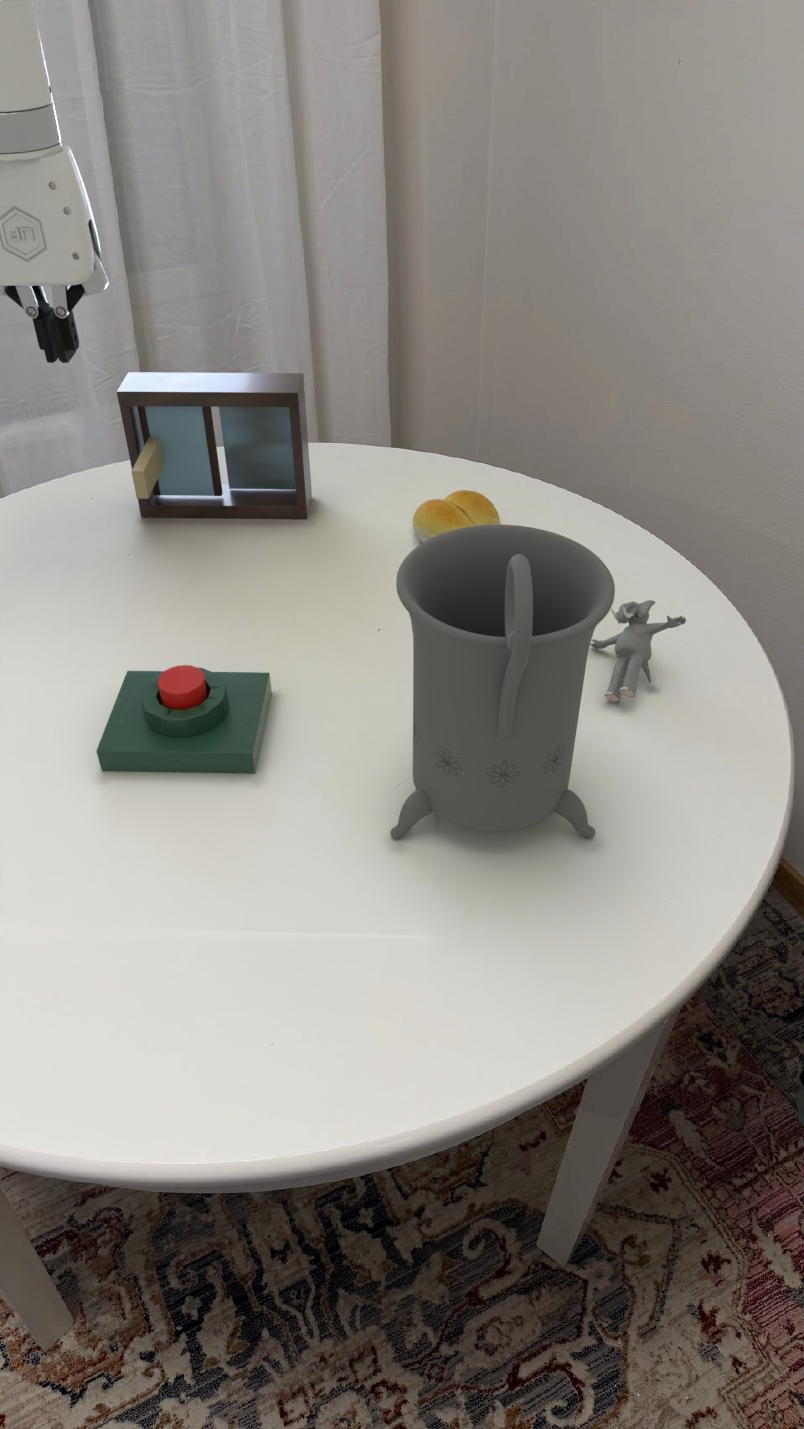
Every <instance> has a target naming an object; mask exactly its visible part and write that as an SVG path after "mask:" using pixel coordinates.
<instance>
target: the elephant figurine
mask: <svg viewBox="0 0 804 1429" xmlns="http://www.w3.org/2000/svg"><path fill="white" fill-rule="evenodd" d="M655 604H656V601H655V600H653V599H652V600H651V599H649V600H644V601H643V602H639V603H638V602H636V601H634V600H633V601H629V602H627V603H626V602H625V603H622V604H621V605H620V606H619V609H618V610H617V611H616V612H615V610H614V609H613V608H611V609H610V612H611V614H612V616H613V618H614V619H615V621H617V624H624V625H626V624H628V625H627V626H626V627H624V629H623V631H621V632H619V633H618V634H616V635H613V636H610V637H609V638H606V639H604V640H598V639H595V638H592V639H591V643H590V647H592V648H593V649H596V650H602V649H603V650H604V649H606V648H607V647H609V646H612V645H614V652H615V656H616V659H617V661H616V663H615V664H614V666H613V671H612V673H611V674H612V675H611V678H610V681H609V683H608V684H609V685H608V687H607V689H606V692H605V693H604V694H603V696H604V698H605V699H606V700H608V701H610V702H613V703H619V702H620V698H621V694H622V695H623V696H626V697H628V698H636V693H637V686H638V677H639V674H640V672H641V668H642V670H643V673H644V674H645V676H646V678H647V681H648V682H649V684H651V683H652V676H651V672H650V666H649V661H650V660H651V657H652V640H653V636H654V635H656V634H658V633H660V632H662V631H664V630H667V629H673V628H678V627H679V626H682V625H684V624H686V622H687V618H685V616H683V615H679V616H678V617H677V616H675V617H673V618H672V617H670V616H669V615H666V619H667V620H666V622H652V623H651V622H650V623H648V621H649V618H650V610H651V609H652V607H653V605H655Z"/></svg>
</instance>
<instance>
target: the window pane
mask: <svg viewBox="0 0 804 1429" xmlns="http://www.w3.org/2000/svg"><path fill="white" fill-rule="evenodd" d="M137 408H138V413H139V419H140V424H141V430H142V435H143V440H144V448H143V450H142V451H141V453H140V455H139V457H138V459H137V461H136V463H135V465H134V467H133V469H132V468H131V471H130V472H131V476H132V483H133V486H134V491H135V496H136V499H137V500H138V499H149V496H150V494H151V492H152V490H153V495H185V496H222V493H223V492H222V485H221V484H222V478H221V472H220V470H221V469H220V464H219V456H218V449H217V442H216V441H217V440H216V434H215V433H216V432H215V425H214V419H213V412H212V407H186V406H137Z"/></svg>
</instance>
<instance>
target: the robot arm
mask: <svg viewBox="0 0 804 1429" xmlns="http://www.w3.org/2000/svg"><path fill="white" fill-rule="evenodd" d="M58 122H59V121H58V118H57V113H56V108H55V103H54V98H53V93H52V88H51V83H50V79H49V73H48V68H47V63H46V58H45V52H44V48H43V43H42V38H41V32H40V28H39V24H38V17H37V13H36V8H35V3H34V0H0V295H1V296H7V297H8V298H9V299H11V300H12V301H13V302H14V303H16V304H17V306H19V307H20V308H21V309H23V310H24V313H25V315H26V316H27V317H28V318H29V319H32V323H33V327H34V332H35V336H36V340H37V343H38V348H39V349H40V351H43V352H44V355H45V360H46V363H48V364H54V363H55V362H57V361H59V362H60V363H62V364H68V363H69V362H70V361H71V360H72V358H73V357H74V356H75V354H76V353H77V351H78V349H79V348H80V339H79V334H78V329H77V325H76V320H75V316H74V315H75V314H74V310H73V309H74V308H75V307H76V306H77V304H78V303H79V302H80V300H81V299H82V298H83V297H88V296H92V295H95V294H98V293H102V292H104V290H106V289H107V287H108V285H109V284H110V283H109V278H108V277H107V274H106V273H105V270H104V267H103V266H102V249H101V245H100V244H101V243H100V240H99V236H98V235H99V234H98V230H97V226H96V222H95V219H94V218H95V217H94V214H93V211H92V207H91V203H90V200H89V196H88V193H87V190H86V187H85V184H84V181H83V178H82V175H81V172H80V168H79V166H78V164H77V162H76V159H75V157H74V154H73V152H72V149H71V146H69V145H64V144H63V143H62V138H61V133H60V128H59V123H58ZM44 286H47V287H49V286H50V287H51V296H52V306H50V303H48V298H47V296H46V293H45V290H44Z"/></svg>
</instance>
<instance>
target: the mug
mask: <svg viewBox="0 0 804 1429" xmlns="http://www.w3.org/2000/svg"><path fill="white" fill-rule="evenodd" d="M613 577H614V576H613V575H612V573H611V571H610V570H609V568H608V567H607V565H606V564H605V562H604V561H603V560H602V559H601V558H600V557H599V556H598V555H597V554H596V553H594V552H593V551H592V550H591V549H589V548H587V547H586V546H584V545H583V544H581V543H579V542H577V541H575V540H573V539H571V538H569V537H567V536H564V535H561V534H559V533H556V532H552V531H549V530H546V529H541V528H537V527H532V526H531V527H530V526H526V525H517V524H516V525H515V524H501V525H479V526H471V527H465V528H460V529H456V530H452V531H448V532H445V533H442V534H439V535H437V536H435V537H432V538H430V539H428V540H427V541H425V542H421V543H419V544H418V545H417V546H415V547H414V548H413V549H412V550H411V551H410V552H409V553H408V554H407V555H406V557H405V558H404V559H403V560H402V561H401V563H400V565H399V568H398V570H397V573H396V583H395V585H396V592H397V596H398V599H399V601H400V602H401V604H402V606H403V608H404V609H405V610H406V611H407V612H408V614H409V618H410V623H411V631H412V632H411V633H412V646H413V647H412V650H413V651H412V652H413V653H412V656H413V657H412V658H413V659H412V661H413V664H412V669H413V670H412V674H413V675H412V678H413V679H412V780H413V786H414V788H415V791H413V792H412V793H411V794H410V795H409V796H408V797H407V798H406V800H404V803H403V804H402V807H401V809H400V812H399V816H398V821H397V824H396V826H394V827H392V828H391V829H390V832H389V833H390V837H392V838H393V839H395V840H396V839H400V838H402V837H403V836H405V835H406V834H408V833H409V831H410V830H411V829H412V828H413V827H414V826H415V825H416V824H417V823H419V822H420V821H421V820H423V819H425V817H427V816H428V815H430V814H431V813H434V814H436V816H438V817H440V818H441V819H443V820H445V821H446V822H448V823H451V824H454V825H456V826H459V827H462V828H465V829H468V830H471V831H478V832H485V833H486V832H488V833H503V832H513V831H518V830H519V831H520V830H522V829H526V828H529V827H532V826H535V825H536V824H539V823H541V822H543V821H544V820H545V819H548V818H549V817H550V816H551V815H553V814H554V813H556V814H558V815H559V816H561V817H563V818H564V819H565V820H567V821H568V822H569V823H570V825H572V827H573V828H574V830H576V832H578V834H580V835H582V836H583V837H585V838H587V839H591V838H593V837H595V835H596V829H595V828H594V827H593V826H591V825H589V820H588V813H587V809H586V806H585V804H584V803H583V801H582V800H581V798H580V797H579V796H578V795H577V794H576V793H575V792H574V791H573V790H571V789H569V784H570V777H571V771H572V765H573V758H574V751H575V745H576V744H575V743H576V738H577V737H576V736H577V730H578V725H579V724H578V722H579V718H580V717H579V716H580V711H581V710H580V709H581V703H582V695H583V688H584V683H585V675H586V667H587V662H588V655H589V650H590V647H591V645H590V643H592V639H593V635H594V632H595V630H596V628H597V626H598V624H600V623H601V622H602V621H603V620H604V619H605V618H606V616H608V614H609V612H611V609H612V607H613V605H614V600H615V593H616V584H615V581H614V578H613Z"/></svg>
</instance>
